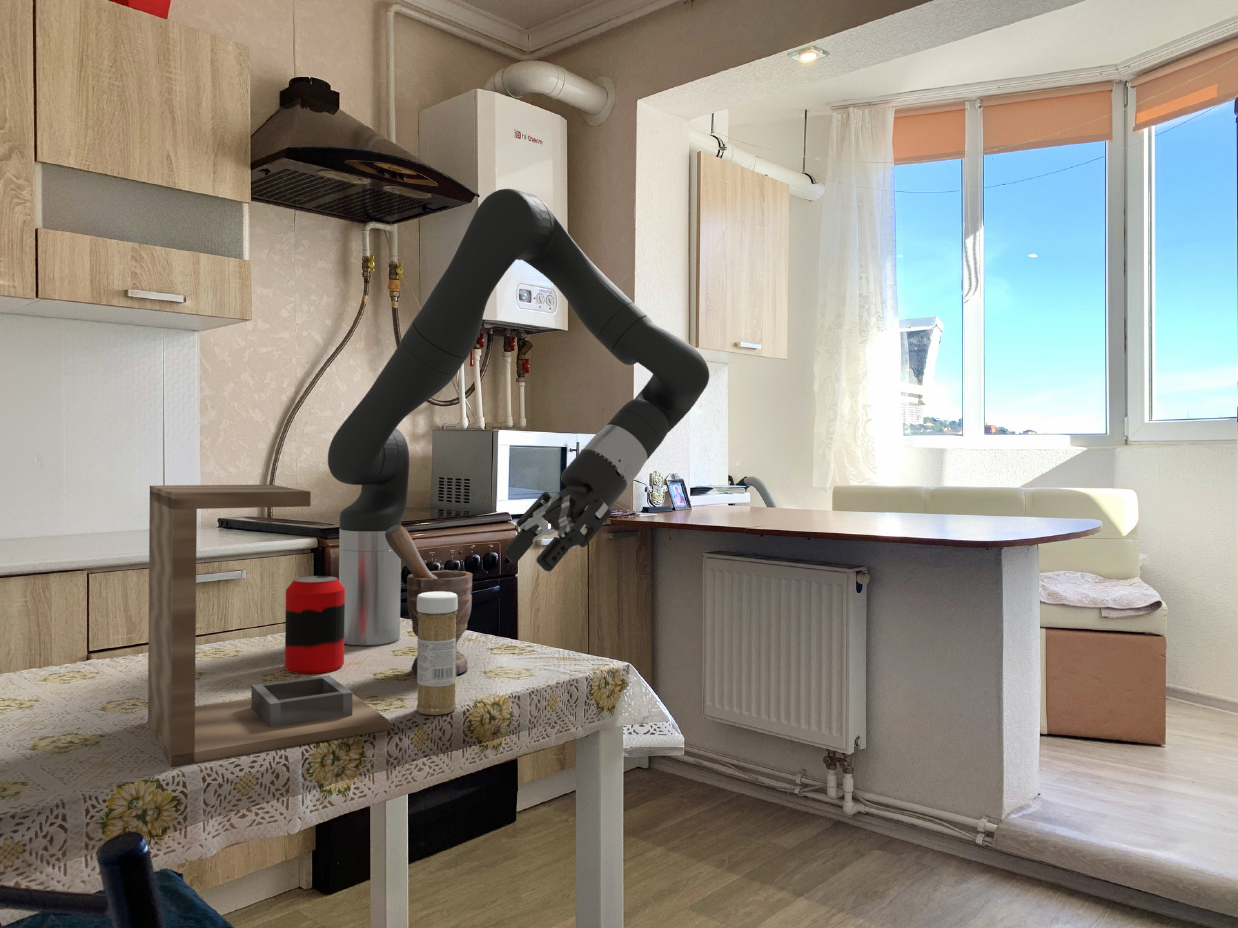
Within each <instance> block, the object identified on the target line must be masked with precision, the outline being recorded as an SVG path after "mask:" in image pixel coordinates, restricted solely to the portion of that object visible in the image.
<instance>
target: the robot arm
mask: <svg viewBox="0 0 1238 928" xmlns="http://www.w3.org/2000/svg"><path fill="white" fill-rule="evenodd" d="M516 260H517V261H523V262H525V263H526V264H528V265H529V266H531V267H532V268H534V269H535V270H536V271H537V272H538V273H540V274H541V275H543V276H544V277H545V278H547V279H548V280H549V281H550V283H552V284H553V285H554V286H555V287H556V288H557V290H558V291H559V292H560V293H562V295H563V297H565V299H566V301H567V302H568V304H569V305H570V307H571V309H572V310H573V311H574V313H575V314H576V317H577V318H578V319H579V320H580V321H581V323H582V324H583V325H584V327H585V328H586V329H587V330H588V331H589V332H590V333H591V334H592V335H593V337H594V338H595V339H596V340H597V341H598V342H599V343H601V344H602V345H603V347H605V349H607V351H608V352H610V353H611V354H612V355H613V357H615V358H616V359H617V360H618V361H620V362H621V363H622V364H624V365H627V366H633V365H635V364H639V365H641V366H642V367H643V368H645V369H646V370H648V371H649V372H650V373H651V374H652V375H651V377H650V379H649V380H648V381H647V382H646V384H645V386H643V388H642V389H641V390H640V391H639V393H638V394H637V395H636V396H635V398H634V399H631V400H629V401H628V402H627V403H625V404H624V405H623V406H621V408H620V409H619V410H618V412H616V414H614V416H613V417H612V419H610V421H609V422H608V423H607V424H606V425H605V426H603V428H602V429H601V430H599V431H598V432H597V433H596V434H595V435H594V436H593V437H592V438H591V439H590V440H589V442H588V443H587V444H586V445H585V446H584V447H583V448H582V450H581V451H580V452H579V453H578V454H577V455H576V456H575V458H574V459H573V460H572V461H570V463H569V464H568V465H567V467H566V468H565V469H564V470H563V471H562V472H561V475H560V476H561V477H560V478H561V482H562V490H560V491H559V492H558V493H557V494H556V495H554V496H551V494H550V493H549V492H548V491H544V492H542V494H541V495H540V496H539V497H538V498H537V499H535V501H534V502H533V503H532V504H531V505H530V507H529V508H528V509H527V510H526V511H525V512H524V513H523V514H522V515H521V516H520V518H518V520H517V521H516V522H515V524H516V526H517V527H518V528H519V531H518V533H517V534H516V535H515V537H514V538H513V539H511V541H510V542H509V543H508V544H507V546H505V548H504V549H503V551H502V553H503V555H504V556H505V558H506V559H507V560H508V561H509V562H511V563H514V564H516V563H518V562H519V561H520V560H521V559H522V557H523V556H524V555H525V554H526V552H528V550H529V549H530V548H531V547H532V546H533V544H534V543H535V542H536V541H538V540H539V539H541V538H542V537H543V536H545V535H547V536H552V535H553V534H554V533H556V532H557V536H558V537H557V536H554V537H553V538H552V540H551V541H550V542H549V543H548V544H547V545H546V546H545V548H544V549H543V550H542V551H541V553H540V554H539V555H538V556H537V557H536V562H537V564H538V565H539V566H540V568H541V569H542V570H543V571H545V572H552V571H553V569H554V568H555V567H556V566H557V564H559V563H560V561H561V560H562V559H563V557H564V556H565V555H566V554H567V553H568V551H569V550H570V551H571V550H572V551H573V550H574V549H576V548H577V546H579V547H580V548H585V547H587V546H588V544H589V543H590V542H591V540H592V539H593V538H594V537H595V535H596V534H597V533H598V531H599V530H600V529H601V527H602V526H603V525H604V524H605V522H606V521H607V520H608V518H609V517H610V516H611V514H612V510H611V508H612V506H614V504H615V503H616V501H617V500H618V499H619V498H620V497H621V495H622V494H623V493H624V492H625V490H626V489H627V488H628V487H629V486H630V485H631V484H632V483H633V481H634V480H635V478H636V477H637V476H638V475H639V473H640V472H641V470H642V468H643V467H644V466H645V464H646V462H647V461H648V460H649V459H650V458H651V456H652V455H653V454H654V453H655V451H656V450H657V449H658V448H659V446H660V445H661V444H662V443H663V441H664V439H665V438H666V436H667V435H668V433H669V432H671V431H672V430H673V429H674V428H675V426H677V424H680V423H679V422H681V421H682V419H683V418H684V417H685V416H687V414H688V413H689V412H690V411H691V410H692V408H693V407H694V405H695V404H696V403H697V401H698V400H699V398H700V397H701V395H702V394H703V392H704V391H705V389H706V388H707V386H708V384H709V380H710V370H709V367H708V364H707V361H705V358H704V357H703V356H702V354H701V353H700V352H699V351H698V350H697V349H696V348H695V347H694V346H692V345H691V344H690V343H689V342H686V341H685V340H684V339H682V338H680V337H679V336H676V335H675V334H674V333H672V332H670V331H669V330H667V329H665V328H663V327H661V326H659V325H658V324H656V323H655V322H653V321H652V319H650V317H649V316H648V315H647V314H646V313H644V311H643V310H642V309H641V308H639V306H638V305H637V304H635V302H634V301H633V300H631V299H630V298H629V297H628V296H627V295H626V294H625V293H624V292H623V291H622V290H621V289H620V288H619V287H617V286H616V284H614V283H613V281H611V280H610V279H609V278H608V277H607V276H606V275H605V274H604V273H603V272H602V271H601V270H600V269H599V268H598V267H597V266H596V265H595V264H594V263H593V261H591V259H589V257H588V256H587V255H586V253H584V251H582V249H581V248H580V247H579V245H578V244H577V243H576V242H575V240H574V239H573V238H572V236H571V235H570V234H569V233H568V231H567V230H566V229H565V227H564V226H563V224H562V223H561V222H560V220H559V219H558V217H557V216H556V215H555V213H554V212H553V210H551V208H550V207H549V206H548V204H547V203H546V202H545V201H544V200H543V199H542V198H540V197H538V196H536V195H535V194H532V193H529V192H524V191H521V190H519V189H515V188H514V189H513V188H502V189H498V190H495V191H493V192H492V193H490V194H489V195H487V196H486V197H485V199H483V201H481V203H480V204H479V205H478V207H477V209H476V211H475V213H474V214H473V216H472V218H471V221H470V222H469V225H468V227H467V229H466V231H465V233H464V235H463V237H462V239H461V241H460V243H459V245H458V247H457V250H456V251H455V253H454V255H453V257H452V259H451V261H450V262H449V263H450V264H448V267H447V268H446V270H445V271H444V273H443V274H442V276H441V277H440V278H439V280H438V282H437V284H436V285H435V286H434V288H433V290H432V292H431V293H430V295H429V296H428V298H427V299H426V301H425V302H424V304H423V305H422V307H421V308H420V310H419V312H418V313H417V315H416V316H415V317H414V318H413V320H412V322H411V323H410V325H409V326H408V329H407V330H406V332H405V333H404V335H403V337H402V338H401V340H400V342H399V343H398V346H397V347H396V349H395V350H394V352H393V353H392V355H391V357H389V360H388V361H387V363H386V364H385V365H384V367H383V369H382V370H381V371H380V373H379V375H378V376H377V378H376V380H375V381H374V383H373V384H372V386H371V387H370V389H369V390H368V391H367V393H366V394H365V395H364V397H362V399H361V400H360V402H359V403H358V404H357V405H356V407H354V409H353V411H352V412H350V414H349V415H348V417H347V418H346V419H345V420H344V421H343V423H342V424H341V425H340V426H339V428H338V429H337V431H336V433H334V435H333V437H332V439H331V442H330V444H329V447H328V452H327V465H328V469H329V472H330V474H331V476H332V477H333V478H334V479H335V480H337V481H339V483H343V484H346V485H354V486H361V490H360V494H359V496H358V497H357V499H356V500H355V501H353V502H352V503H351V504H350V505H349V506H347V507H345V508H343V509H342V510H341V512H340V514H339V542H338V546H339V547H338V548H339V549H338V550H339V551H338V556H339V558H338V559H339V561H338V570H339V571H338V580H339V582H340V583H341V584H342V585H343V587H344V588H345V620H344V645H352V646H375V645H377V646H378V645H385V644H390V643H393V642H394V643H395V642H396V641H398V640H400V637H401V588H402V587H401V581H402V580H401V577H402V576H401V574H402V573H401V572H402V560H401V559H400V558H399V557H398V556H397V554H396V553H395V552H394V551H393V549H392V548H391V547H390V545H389V544H388V542H387V540H386V537H385V532H386V531H387V530H388V529H389V528H390V527H393V526H395V525H401V526H402V520H403V517H404V514H405V511H406V509H407V503H408V491H409V490H408V489H409V477H410V451H409V445H408V442H407V440H406V438H405V436H404V434H403V433H402V431H400V430H399V429H398V428H397V427H398V426H399V424H400V423H401V422H402V421H403V420H404V419H405V418H407V417H408V415H410V414H411V413H413V412H414V411H415V410H416V409H418V408H419V407H421V405H422V406H423V404H424V403H426V402H427V401H429V400H430V399H431V398H433V397H435V395H436V394H438V393H439V392H441V391H442V390H443V389H444V388H445V387H446V386H447V385H449V384H450V382H451V381H452V380H453V379H454V377H455V376H456V375H457V374H458V372H459V371H460V369H461V368H462V366H463V364H464V363H465V361H466V360H467V359H468V357H469V355H471V352H472V351H473V349H474V347H475V345H476V343H477V341H478V338H479V335H480V330H481V328H482V323H483V318H484V313H485V310H486V308H487V307H486V306H487V303H488V301H489V299H490V297H491V295H492V293H493V292H494V290H495V288H496V286H497V285H498V283H499V282H500V281H501V279H502V278H503V277H504V275H505V274H506V272H507V271H508V270H509V269H510V268H511V266H512V265H513V264H514V263H515V262H516ZM586 528H587V531H586V532H585V529H586ZM584 533H585V534H584Z"/></svg>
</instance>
